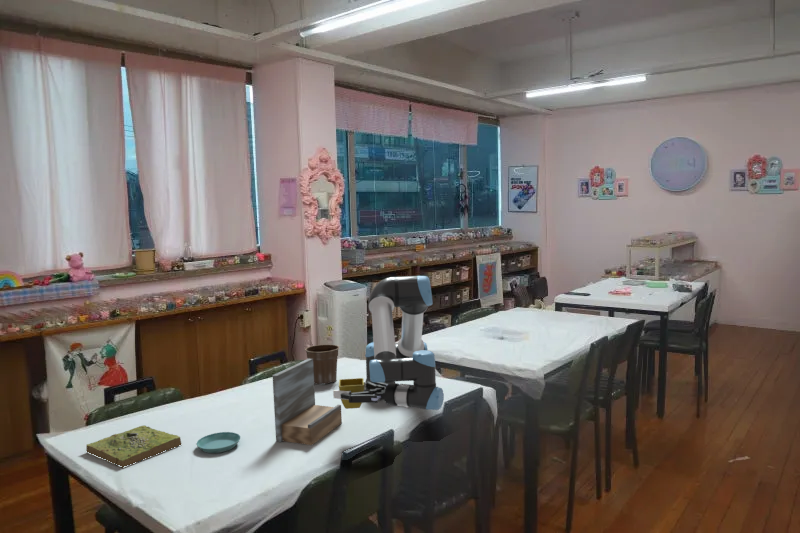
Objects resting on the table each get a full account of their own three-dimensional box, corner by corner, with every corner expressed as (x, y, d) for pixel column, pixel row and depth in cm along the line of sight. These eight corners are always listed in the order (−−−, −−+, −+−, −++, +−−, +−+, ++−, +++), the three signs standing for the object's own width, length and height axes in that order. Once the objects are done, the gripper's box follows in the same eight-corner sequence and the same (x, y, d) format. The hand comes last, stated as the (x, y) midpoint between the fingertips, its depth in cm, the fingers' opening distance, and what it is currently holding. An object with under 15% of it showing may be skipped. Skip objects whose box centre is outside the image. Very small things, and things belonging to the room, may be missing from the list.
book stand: (343, 422, 223) (340, 361, 221) (310, 446, 201) (306, 378, 199) (311, 418, 228) (308, 358, 226) (276, 441, 206) (272, 375, 204)
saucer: (195, 443, 208) (194, 436, 207) (237, 436, 213) (237, 429, 213) (198, 459, 194) (198, 451, 194) (243, 450, 200) (243, 443, 199)
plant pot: (307, 377, 286) (305, 345, 285) (340, 375, 288) (339, 343, 286) (305, 386, 270) (304, 352, 269) (340, 384, 272) (339, 350, 270)
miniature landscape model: (122, 470, 188) (121, 455, 188) (86, 454, 202) (84, 440, 201) (182, 446, 206) (181, 433, 205) (144, 433, 220) (143, 420, 219)
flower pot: (340, 403, 211) (339, 378, 210) (364, 401, 212) (363, 377, 211) (339, 411, 202) (338, 386, 201) (365, 410, 203) (364, 384, 202)
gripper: (385, 417, 189) (326, 410, 197) (411, 394, 210) (357, 389, 219) (384, 394, 188) (325, 388, 197) (410, 374, 210) (356, 369, 218)
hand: (341, 389), depth 208 cm, fingers closed on flower pot, 11 cm apart
